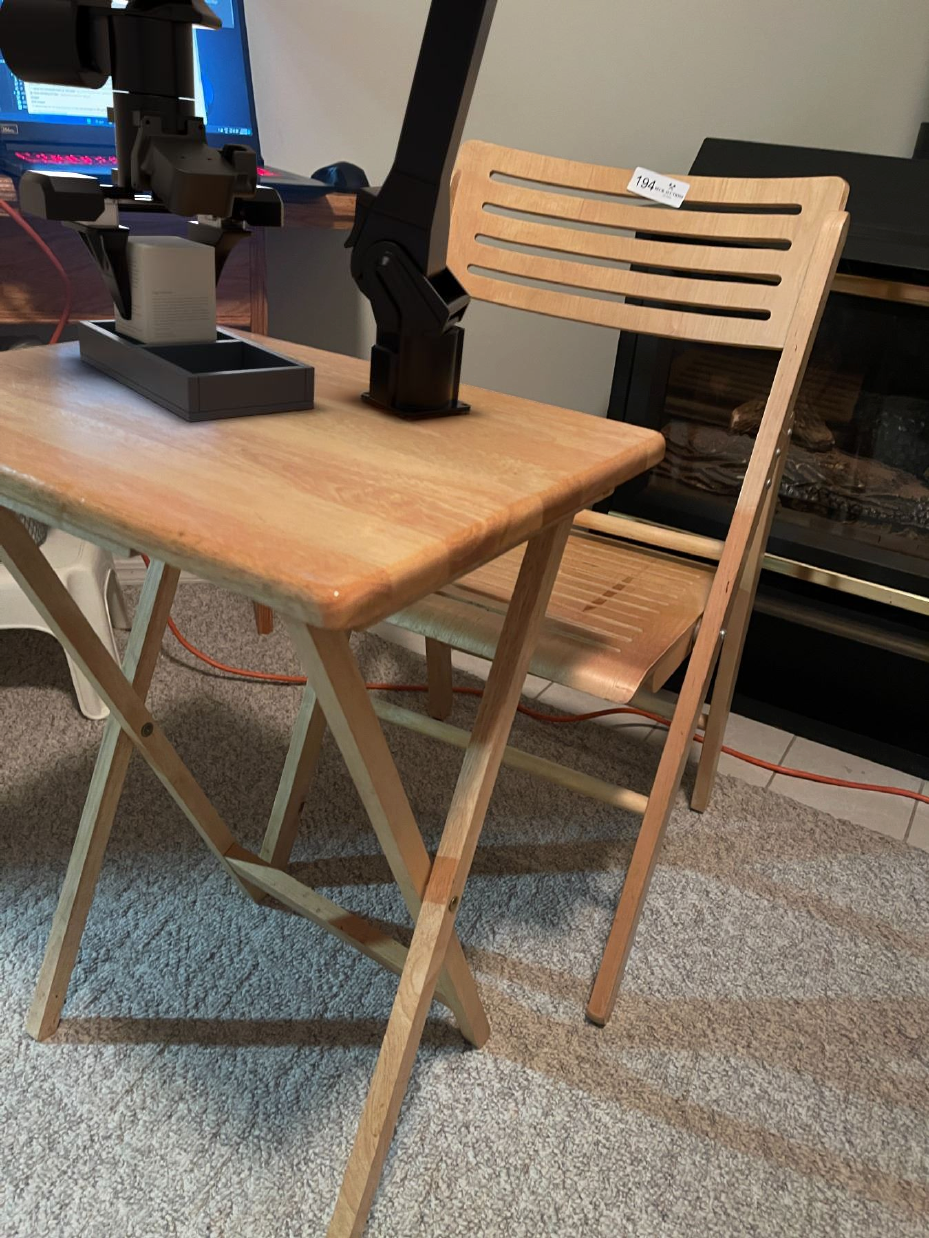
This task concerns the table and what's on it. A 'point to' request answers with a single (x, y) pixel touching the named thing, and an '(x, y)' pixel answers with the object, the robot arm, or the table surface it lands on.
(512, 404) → the table surface
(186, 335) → the product box
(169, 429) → the table surface
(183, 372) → the divided tray
